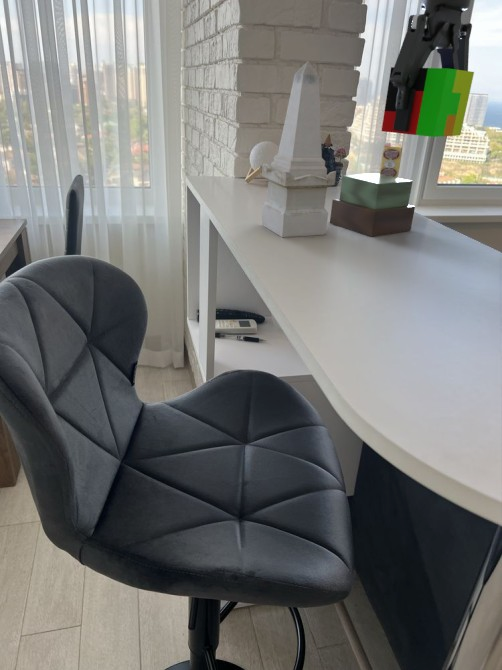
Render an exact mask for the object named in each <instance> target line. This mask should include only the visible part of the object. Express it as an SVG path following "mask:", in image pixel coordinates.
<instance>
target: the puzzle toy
mask: <svg viewBox="0 0 502 670" xmlns="http://www.w3.org/2000/svg"><path fill="white" fill-rule="evenodd" d="M393 69H394V66H392V67H390V73H389V79H388V85H387V92H386V99H385V106H384V111H383V120H382V125H381V132H385V133H393V134H394V133H395V134H401V135H403V134H404V135H411V136H412V135H413V136H421V137H430V138H440V137H455V136H456V137H457V136H461V134H462V130H463V126H464V120H465V116H466V112H467V106H468V102H469V98H470V93H471V88H472V84H473V79H474V74H475V71H470V70H468V71H463V70H456V69H448V68H442V67H423V68H420V74H419V75H418V77H417V79H416V81H415V83H414V84H413V86H412V87H411V88H410V89H416V91H415V97H414V103H413V108H412V114H411V120H410V125H409V131H408V132H405V131H397V130H393V127H394V121H395V115H396V102H397V101H396V100H397V94H398V87H394V86H393V82H391V81H390V78H391V75H392V72H393ZM399 74H401V73H399Z"/></svg>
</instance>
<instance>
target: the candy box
mask: <svg viewBox="0 0 502 670" xmlns="http://www.w3.org/2000/svg"><path fill="white" fill-rule="evenodd" d="M402 153H403V143H394V142H385V143H384V146H383V151H382V156H381V163H380V168H379V174H382V175H387V176H392V177H396V178H399V174H400V169H401V168H400V167H401V161H402Z"/></svg>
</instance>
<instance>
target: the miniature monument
mask: <svg viewBox="0 0 502 670" xmlns="http://www.w3.org/2000/svg"><path fill="white" fill-rule="evenodd" d="M321 128H322V125H321V97H320V75H319V74H318V72H317V71H316V70H315V68H314V67H313V65H312V64H311V63H310V61H309V60H307V61H306V62H305V63H304V64H303V65H302V66H301V67H300V68H299V69H298V70H297V72H295V73H294V76H293V81H292V85H291V90H290V95H289V100H288V104H287V109H286V114H285V118H284V122H283V128H282V132H281V137H280V142H279V148H278V151H277V154H275V155H274V156H273V161H272V162H271V163H270V166H269V164H267V163H264V162H263V163H262V167H261V177H262V178H264V179H265V180H267V183H268V184H267V196H266V197H267V198H266V201H264V203H262V215H261V217H262V218H261V226H263V227H265V228H266V229H268V230H269V231H271V232H272V233H274V234H276V235H278V236H279V237H281V238H292V237H294V238H295V237H307V236H324V235H325V236H326V232H327V224H328V217H329V212H328V211H327V209H326V208H325V207H326V197H327V188H329V187H332V186H335V185H336V179H337V178H336V177H337V170H334V171H330V172H329V173H328V168H327V167H326V160H325V159H324V158H323V156H322V155H323V154H322V152H323V151H322V129H321ZM327 173H328V174H327Z"/></svg>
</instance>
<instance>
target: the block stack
mask: <svg viewBox="0 0 502 670" xmlns="http://www.w3.org/2000/svg"><path fill="white" fill-rule="evenodd" d="M412 187H413V180H412V179H411V180H410V179H405V178H400V177H398V178H396V177H392V176H387V175H382V174H380V173H377V172H374V173H357V174H356V173H355V174H344V175H342V177H341V183H340V190H339V191H340V193H339V198H334V199H332V201H331V209H330V218H329V224H332V225H334V226H338V227H341V228H344V229H346V230H350V231H352V232H356V233H358V234H362V235H365V236H367V237H370V238H371V237H378V236H384V235H392V234H396V233H397V234H398V233H403V232H408V231H411V230H412V226H413V219H414V216H415V210H416V206H415V205H411V204H409V203H410V198H411V193H412Z"/></svg>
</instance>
